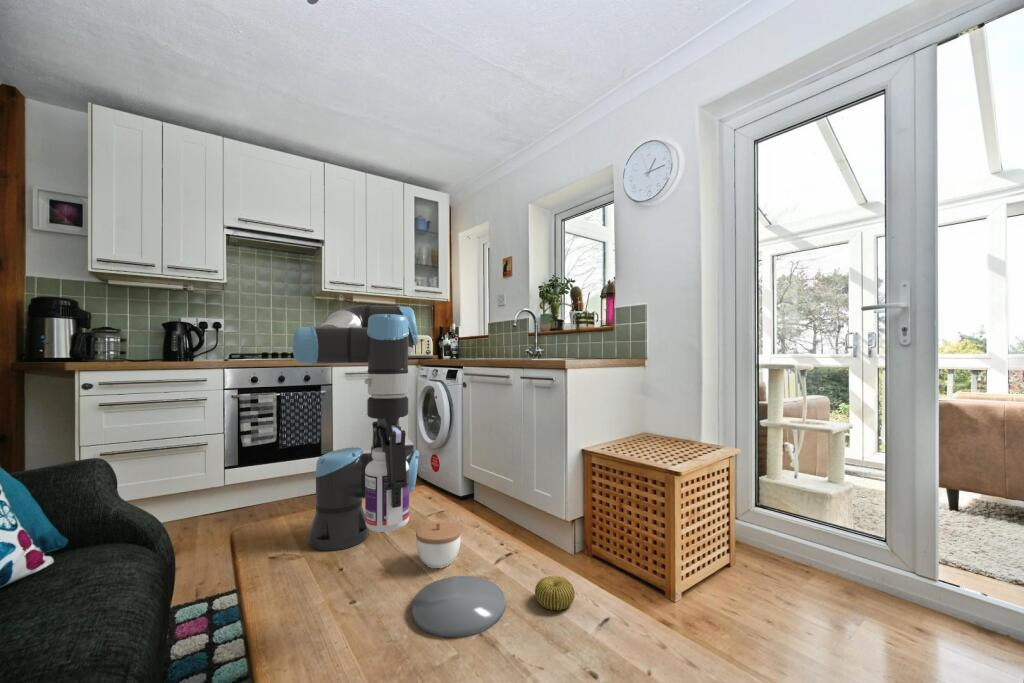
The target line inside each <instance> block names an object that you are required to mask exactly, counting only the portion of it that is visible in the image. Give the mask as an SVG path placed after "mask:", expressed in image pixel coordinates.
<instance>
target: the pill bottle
mask: <svg viewBox="0 0 1024 683" xmlns="http://www.w3.org/2000/svg"><path fill="white" fill-rule="evenodd" d="M372 458H373V461H371V462H370V463H369V464H368V465H367V466H366V468H365V501H364V504H365V505H364V506H365V508H364V513H365V523H366V526H367V527H368V528H369V530H370V531H372V532H379V533H381V532H384V533H385V532H393V531H397V530H400V529H402V528H403V527H404V526H406V525H407V524H408V523H409V520H410V493H409V465H408V463H407V461H406V475H407V486H406V487H403V514H402V523H400V524H395V525H390V526H387V525H386V508H387V490H385V488H384V487H386V486H388V477H387V467H386V458H385V452H383V451H382V447H380V448H375V449H373V450H372ZM397 481H399V480H397Z"/></svg>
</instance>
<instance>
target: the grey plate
mask: <svg viewBox="0 0 1024 683" xmlns="http://www.w3.org/2000/svg"><path fill="white" fill-rule="evenodd" d="M505 597H506V596H505V594H504V591H503V590H502V588H501V587H500V586H499V585H498V584H496V583H494V582H493V581H492V580H489V579H486V578H483V577H481V576H480V577H479V576H473V575H455V576H448V577H445V578H441V579H438V580H435V581H433V582H431V583H429V584H426V585H425V586H424V587H423V588H421V589H420V590H419V591H418V592H417V593H416V594H415V596H414V598H413V602H412V605H411V606H412V607H411V608H412V611H411V612H412V618H413V621H414V623H415V624H416V625H417V627H419V629H421V630H422V631H424V632H426V633H428V634H430V635H433V636H437V637H442V638H463V637H469V636H470V637H471V636H474V635H477V634H480V633H483V632H485V631H487V630H488V629H490V628H492V627H493V626H495V625H496V624H497V623H498V622H499V621H500V620H501V618H502V617H503V615H504V613H505V607H506V603H505V602H506V601H505V600H506V599H505Z"/></svg>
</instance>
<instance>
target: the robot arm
mask: <svg viewBox="0 0 1024 683" xmlns="http://www.w3.org/2000/svg"><path fill="white" fill-rule="evenodd" d="M418 336H419V335H418V327H417V319H416V314H415V311H414V309H413V308H412V307H410V306H403V305H402V306H401V305H398V304H397V305H367V304H366V305H365V304H364V305H362V304H359V305H353V306H349V307H344V308H341V309H339V310H336V311H334V312H332V313H331V314H329V316H328V317H327V318H326V319H325V322H324V323H323V324H321V325H320V326H311V325H310V326H302V327H301V326H300V327H297V328H296V329H295V330H294V332H293V338H292V354H293V358H294V360H295V361H296V362H297V363H298V364H307V365H308V364H311V365H318V364H320V365H321V364H367V378H365V379H364V384H365V385H367V394H368V395H369V397H368V398H367V400H366V403H367V404H366V405H367V406H366V409H367V410H366V411H367V414H366V415H367V417H369V418H371V419H376V421H373V422H372V444H371V445H370V452H367V453H366V452H365V453H364V451H363V449H362V448H361V447H358V446H357V447H353V446H352V447H345V448H340V449H336V450H332V451H330V452H327V453H325V454H322V455H321V456H320V457H319V458H318V459H317V461H316V467H315V474H314V477H315V513H314V517H313V518H312V519H313V520H312V522H311V526H310V528H309V530H308V536H307V537H308V540H307V541H308V543H307V544H308V546H309V547H310V548H312V549H314V550H318V551H337V550H344V549H348V548H351V547H354V546H357V545H358V544H361V543H363V542H364V541H365V540H367V539H368V537H369V534H370V531H369V530H370V529H369V528H368V527H367V526H366V523H365V509H364V508H363V499H364V498H365V468H366V466H367V465H368V464H369V463H370V462H371V461H373V458H372V450H373V449H375V448H380V447H382V451H383V452H385V458H386V467H387V477H388V486H386V487H384V488H385V490H387V508H386V525H387V526H390V525H395V524H400V523H402V514H403V487H406V486H407V475H406V461H407V463H408V465H409V494H411V493H412V492H413V491H414V490H415V487H416V481H417V475H418V470H419V469H418V466H419V456H420V452H419V450H418V449H415V446H414V442H413V441H412V440H411V439H410V438H409V393H410V390H409V389H410V388H409V387H410V386H409V384H410V382H409V380H410V376H409V373H410V372H409V355H411V353H412V352H414V346H417V345H418V344H419V337H418ZM397 480H399V481H397Z"/></svg>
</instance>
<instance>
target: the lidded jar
mask: <svg viewBox="0 0 1024 683" xmlns="http://www.w3.org/2000/svg"><path fill="white" fill-rule="evenodd" d="M415 537H416V538H415V540H416V550H417V553H418V554H417V555H418V557H419V558H420V560H421V561H422V562H423V563H424V564H425V565H427V566H426V567H428V568H429V567H432V568H431V569H433V568H440V569H442V568H441V567H445V566H447V567H448V565H449V564H450V563H451V564H452V563H453V561H454V560H455V559H456V557H457V555H458V554H459V551H460V549H461V548H460V547H461V539H462V528H461V526H460V525H459V524H458V523H455V522H452V521H446V520H445V521H444V520H443V521H442V520H441V521H431V522H429V523H428V522H427V523H425V524H423V525H420V526H419V527H418V528H417V529H416V531H415ZM451 564H450V565H451ZM450 565H449V566H450ZM445 568H446V567H445Z"/></svg>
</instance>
